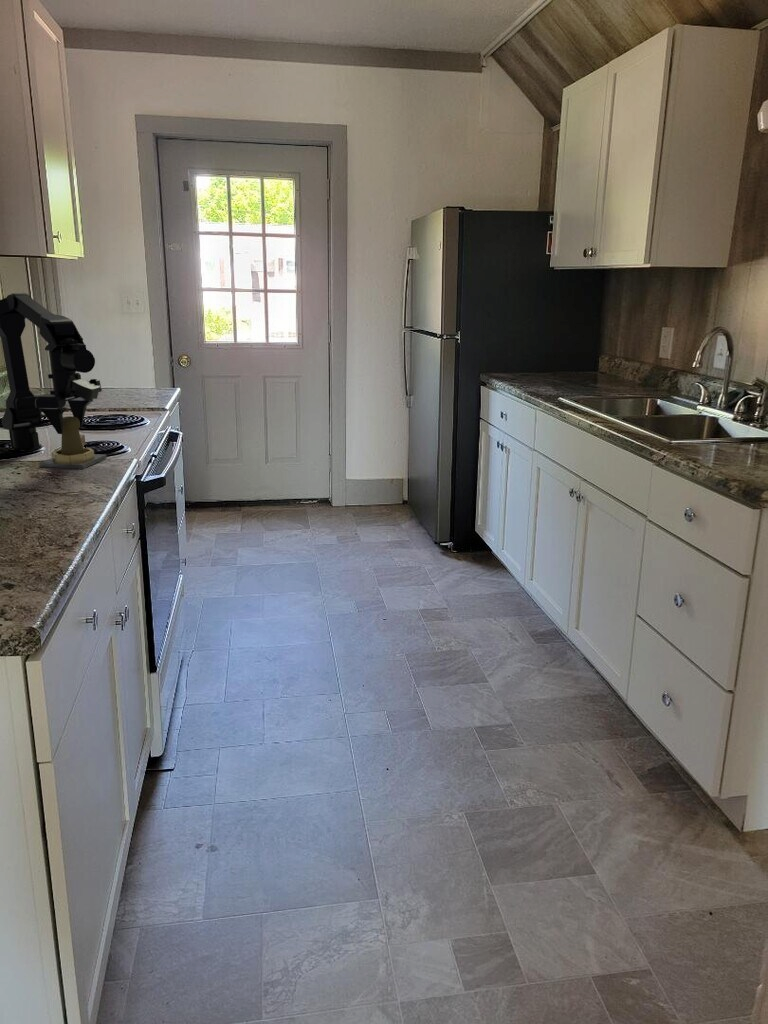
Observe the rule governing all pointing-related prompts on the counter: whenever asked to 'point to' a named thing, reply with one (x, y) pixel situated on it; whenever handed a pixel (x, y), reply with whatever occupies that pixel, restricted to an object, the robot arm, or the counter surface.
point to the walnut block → (83, 439)
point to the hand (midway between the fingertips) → (70, 430)
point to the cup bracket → (73, 459)
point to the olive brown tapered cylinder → (71, 437)
